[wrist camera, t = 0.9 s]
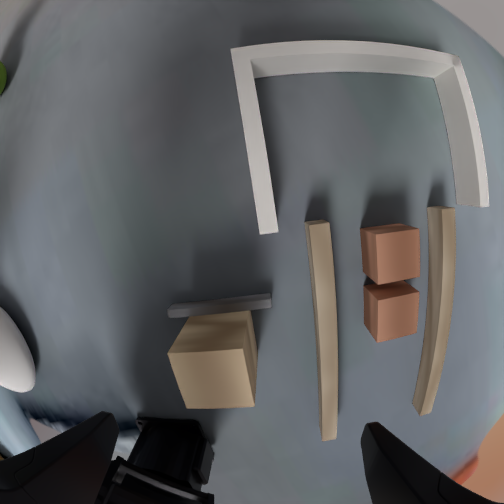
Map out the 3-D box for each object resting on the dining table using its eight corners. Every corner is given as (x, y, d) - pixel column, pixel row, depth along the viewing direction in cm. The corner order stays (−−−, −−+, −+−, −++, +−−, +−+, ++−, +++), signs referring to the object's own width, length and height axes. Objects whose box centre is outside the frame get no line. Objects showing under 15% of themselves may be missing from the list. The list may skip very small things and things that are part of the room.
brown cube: (363, 323, 19) (376, 342, 16) (363, 285, 19) (377, 300, 16) (399, 315, 19) (416, 332, 16) (400, 278, 18) (419, 291, 16)
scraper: (186, 357, 20) (163, 408, 15) (172, 303, 20) (139, 344, 14) (278, 350, 20) (281, 404, 14) (270, 292, 19) (271, 334, 13)
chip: (362, 271, 19) (378, 284, 16) (359, 228, 18) (375, 234, 15) (400, 264, 18) (419, 276, 15) (398, 223, 18) (419, 228, 15)
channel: (319, 426, 21) (322, 441, 19) (304, 221, 18) (308, 225, 16) (422, 399, 21) (430, 412, 19) (439, 205, 17) (454, 207, 15)
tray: (260, 227, 18) (259, 234, 15) (235, 68, 16) (230, 48, 13) (465, 203, 17) (489, 206, 14) (439, 68, 15) (458, 56, 12)
